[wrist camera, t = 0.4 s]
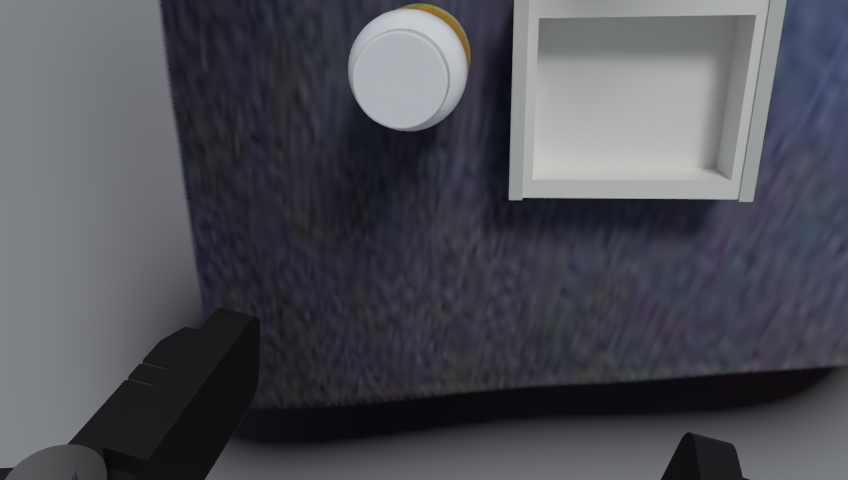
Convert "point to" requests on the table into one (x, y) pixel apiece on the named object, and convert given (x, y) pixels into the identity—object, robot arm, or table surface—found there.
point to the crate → (641, 97)
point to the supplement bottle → (410, 67)
